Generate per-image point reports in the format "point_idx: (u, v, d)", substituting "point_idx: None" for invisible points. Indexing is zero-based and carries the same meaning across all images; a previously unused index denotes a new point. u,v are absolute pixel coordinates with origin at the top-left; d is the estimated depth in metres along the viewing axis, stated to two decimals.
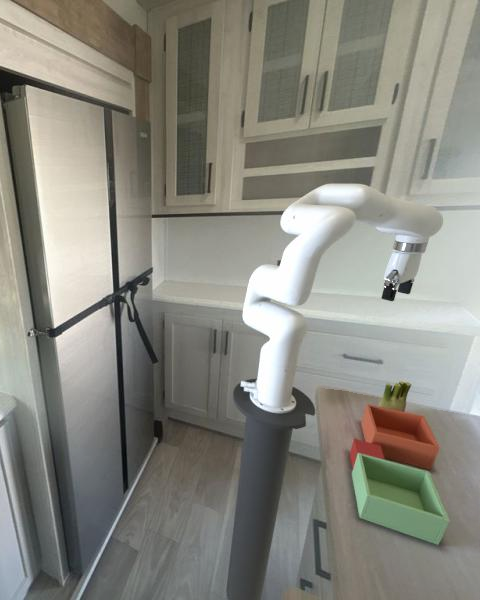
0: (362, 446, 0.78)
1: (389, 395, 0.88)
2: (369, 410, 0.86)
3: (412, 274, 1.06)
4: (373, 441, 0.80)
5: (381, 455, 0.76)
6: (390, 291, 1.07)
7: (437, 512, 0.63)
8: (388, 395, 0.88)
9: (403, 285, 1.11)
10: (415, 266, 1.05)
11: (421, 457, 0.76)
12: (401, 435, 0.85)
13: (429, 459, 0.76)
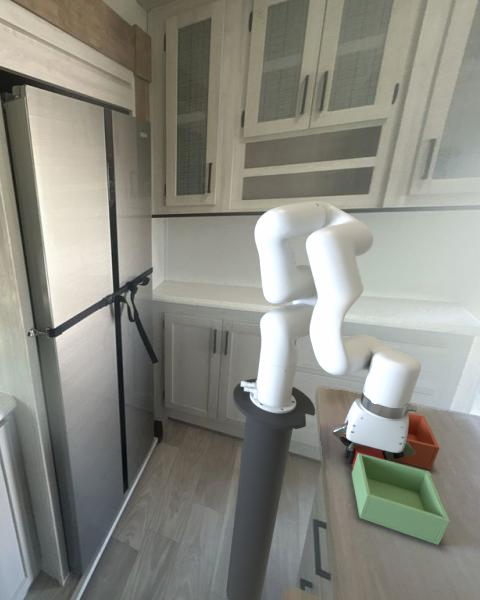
0: (362, 446, 0.78)
1: None
2: None
3: (380, 443, 0.73)
4: None
5: (381, 455, 0.76)
6: (347, 449, 0.79)
7: (437, 512, 0.63)
8: None
9: None
10: (383, 434, 0.72)
11: (421, 457, 0.76)
12: None
13: (429, 459, 0.76)
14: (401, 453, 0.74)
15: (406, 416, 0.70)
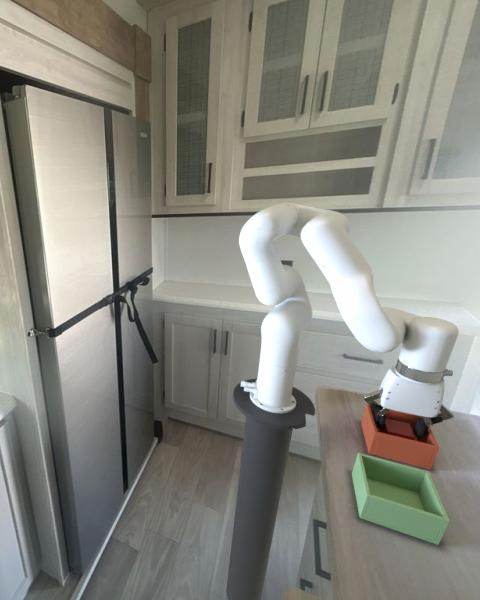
0: (391, 425, 0.82)
1: None
2: (369, 410, 0.86)
3: (416, 408, 0.76)
4: (373, 441, 0.80)
5: (411, 432, 0.80)
6: (377, 415, 0.82)
7: (437, 512, 0.63)
8: None
9: (418, 424, 0.79)
10: (418, 399, 0.75)
11: (421, 457, 0.76)
12: None
13: (429, 459, 0.76)
14: (440, 418, 0.76)
15: (442, 381, 0.73)
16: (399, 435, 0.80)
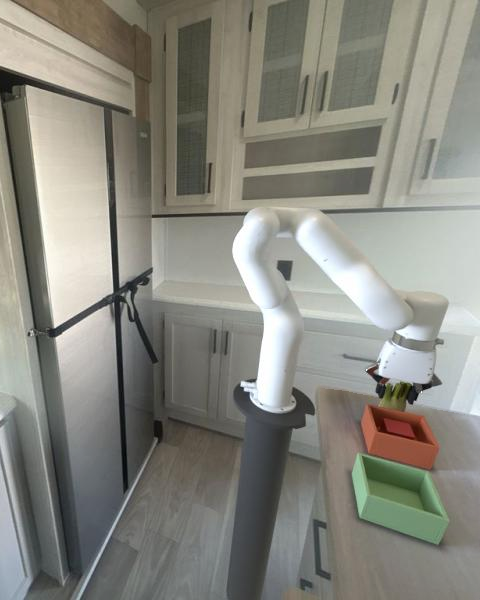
0: (391, 425, 0.82)
1: (390, 395, 0.88)
2: (369, 410, 0.86)
3: (410, 375, 0.83)
4: (373, 441, 0.80)
5: (411, 432, 0.80)
6: (378, 385, 0.89)
7: (437, 512, 0.63)
8: (388, 395, 0.88)
9: (409, 391, 0.87)
10: (413, 367, 0.82)
11: (421, 457, 0.76)
12: None
13: (429, 459, 0.76)
14: (429, 384, 0.83)
15: (434, 349, 0.80)
16: (399, 435, 0.80)
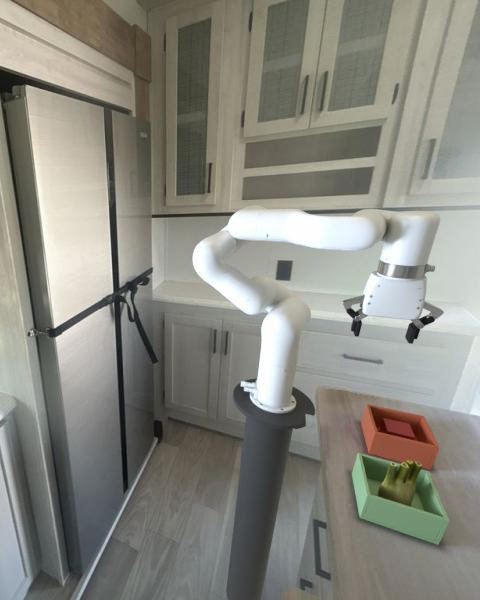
0: (391, 425, 0.82)
1: (393, 478, 0.66)
2: (369, 410, 0.86)
3: (398, 310, 0.73)
4: (373, 441, 0.80)
5: (411, 432, 0.80)
6: (353, 322, 0.80)
7: (437, 512, 0.63)
8: (392, 477, 0.66)
9: (409, 329, 0.76)
10: (400, 299, 0.72)
11: (421, 457, 0.76)
12: None
13: (429, 459, 0.76)
14: (431, 317, 0.72)
15: (424, 278, 0.70)
16: (399, 435, 0.80)
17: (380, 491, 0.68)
